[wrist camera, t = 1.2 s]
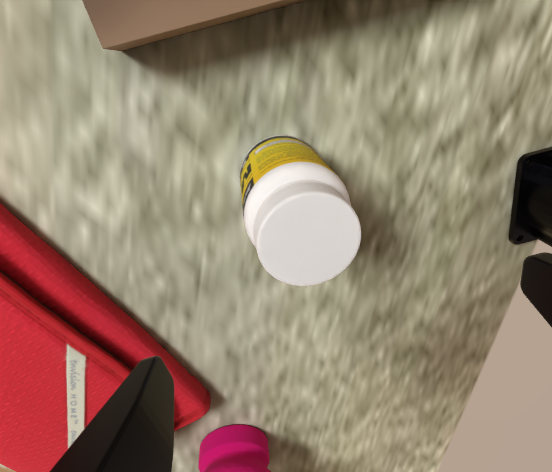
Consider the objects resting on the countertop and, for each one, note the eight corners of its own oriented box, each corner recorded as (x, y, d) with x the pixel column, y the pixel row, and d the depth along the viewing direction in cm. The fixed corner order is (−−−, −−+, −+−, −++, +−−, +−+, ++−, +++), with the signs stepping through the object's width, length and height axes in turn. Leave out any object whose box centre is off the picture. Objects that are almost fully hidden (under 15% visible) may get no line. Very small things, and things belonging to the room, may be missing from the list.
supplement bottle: (230, 143, 18) (231, 196, 11) (313, 125, 19) (369, 165, 11) (249, 219, 21) (260, 306, 13) (323, 203, 21) (375, 280, 13)
